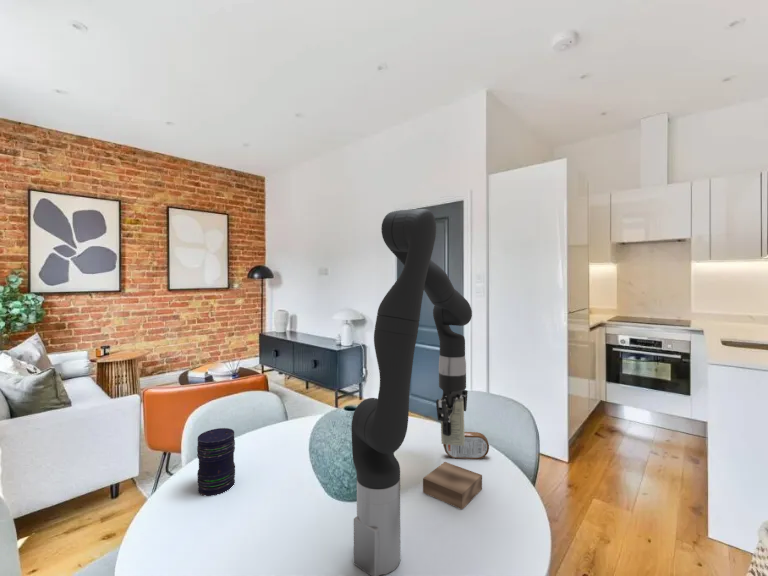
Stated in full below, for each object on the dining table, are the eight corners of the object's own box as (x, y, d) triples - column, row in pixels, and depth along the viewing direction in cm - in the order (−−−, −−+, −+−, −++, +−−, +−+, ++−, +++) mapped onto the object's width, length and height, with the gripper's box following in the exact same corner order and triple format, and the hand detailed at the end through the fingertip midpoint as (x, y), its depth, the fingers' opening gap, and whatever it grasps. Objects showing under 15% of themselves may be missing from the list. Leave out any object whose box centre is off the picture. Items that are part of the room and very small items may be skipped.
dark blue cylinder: (202, 500, 97) (201, 445, 96) (193, 485, 104) (193, 433, 104) (240, 487, 103) (239, 435, 103) (229, 473, 111) (229, 425, 110)
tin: (487, 456, 121) (487, 431, 121) (490, 460, 118) (490, 435, 118) (443, 454, 122) (442, 430, 122) (443, 459, 119) (443, 434, 119)
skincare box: (464, 440, 102) (464, 397, 101) (463, 446, 97) (463, 401, 97) (442, 437, 103) (441, 395, 103) (440, 444, 99) (440, 400, 99)
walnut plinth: (462, 509, 92) (462, 494, 92) (423, 492, 100) (423, 478, 100) (482, 489, 101) (482, 474, 101) (444, 474, 109) (444, 461, 109)
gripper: (451, 378, 92) (451, 444, 92) (476, 368, 103) (476, 426, 103) (426, 374, 97) (427, 436, 97) (453, 364, 108) (453, 420, 108)
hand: (452, 431), depth 100 cm, fingers closed on skincare box, 5 cm apart
